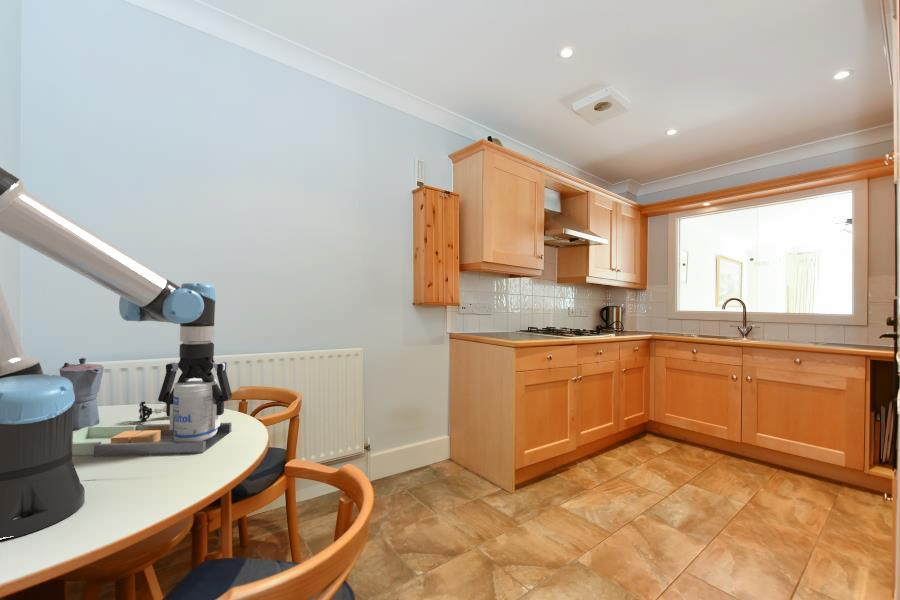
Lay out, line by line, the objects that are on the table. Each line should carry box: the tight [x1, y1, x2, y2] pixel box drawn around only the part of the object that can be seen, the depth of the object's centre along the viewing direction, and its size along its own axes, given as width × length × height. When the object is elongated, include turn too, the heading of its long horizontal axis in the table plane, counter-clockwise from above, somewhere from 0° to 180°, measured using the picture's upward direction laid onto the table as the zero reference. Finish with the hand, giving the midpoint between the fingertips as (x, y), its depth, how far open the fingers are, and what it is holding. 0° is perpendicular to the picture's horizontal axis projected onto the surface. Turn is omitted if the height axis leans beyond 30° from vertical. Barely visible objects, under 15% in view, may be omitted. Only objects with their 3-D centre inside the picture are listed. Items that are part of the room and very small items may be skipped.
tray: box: [72, 424, 137, 456], centre depth 96 cm, size 13×12×3 cm
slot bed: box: [92, 422, 233, 458], centre depth 98 cm, size 16×24×3 cm, turn 97°
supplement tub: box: [173, 378, 218, 442], centre depth 99 cm, size 10×10×15 cm
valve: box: [138, 401, 167, 424], centre depth 119 cm, size 7×7×12 cm
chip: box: [111, 431, 142, 443], centre depth 97 cm, size 5×4×2 cm
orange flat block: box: [131, 430, 161, 443], centre depth 98 cm, size 5×4×2 cm
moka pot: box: [59, 357, 105, 432], centre depth 111 cm, size 10×15×20 cm, turn 78°
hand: (195, 427), depth 99 cm, fingers closed on supplement tub, 9 cm apart
